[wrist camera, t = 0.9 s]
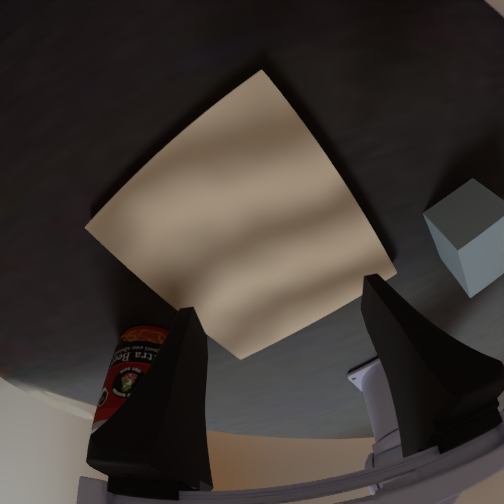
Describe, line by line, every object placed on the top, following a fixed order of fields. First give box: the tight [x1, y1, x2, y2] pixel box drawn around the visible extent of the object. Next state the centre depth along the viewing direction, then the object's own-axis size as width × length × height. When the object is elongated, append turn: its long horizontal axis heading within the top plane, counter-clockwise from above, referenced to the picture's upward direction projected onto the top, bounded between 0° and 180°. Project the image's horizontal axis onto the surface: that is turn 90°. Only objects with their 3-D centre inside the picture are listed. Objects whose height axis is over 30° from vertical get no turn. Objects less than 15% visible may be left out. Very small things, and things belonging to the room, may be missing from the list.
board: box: [85, 70, 397, 360], centre depth 23 cm, size 18×16×1 cm
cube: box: [423, 178, 504, 298], centre depth 20 cm, size 6×6×6 cm
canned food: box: [91, 325, 169, 434], centre depth 25 cm, size 8×8×11 cm
